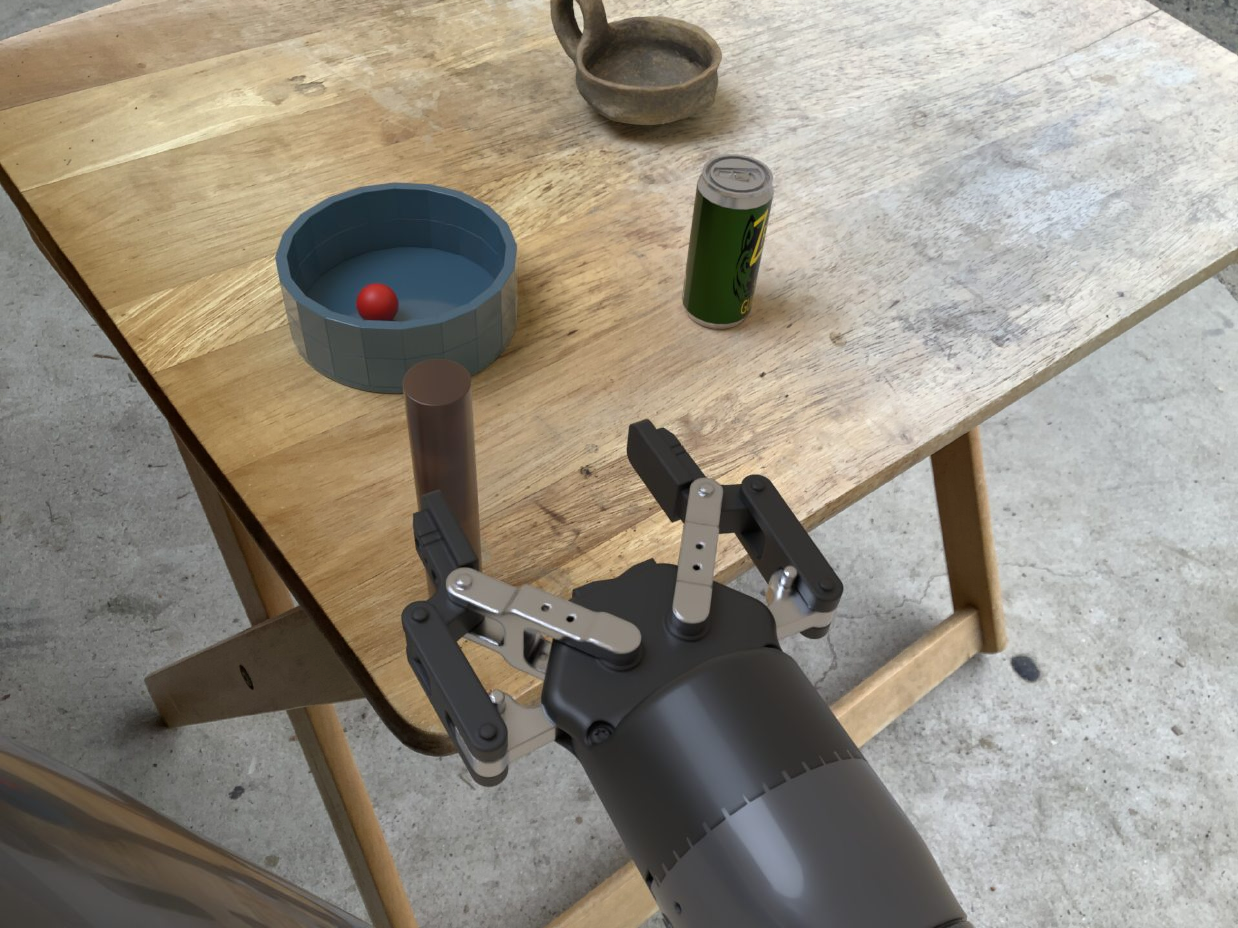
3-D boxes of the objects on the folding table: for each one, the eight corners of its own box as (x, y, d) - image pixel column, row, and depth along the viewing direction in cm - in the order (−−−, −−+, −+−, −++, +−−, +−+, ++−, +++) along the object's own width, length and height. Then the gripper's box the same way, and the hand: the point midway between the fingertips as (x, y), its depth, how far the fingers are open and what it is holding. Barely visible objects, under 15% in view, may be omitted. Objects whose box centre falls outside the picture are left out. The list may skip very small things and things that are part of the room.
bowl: (665, 168, 96) (676, 62, 89) (511, 100, 102) (509, -5, 95) (745, 106, 104) (761, 4, 97) (597, 46, 110) (602, -54, 103)
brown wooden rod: (435, 628, 63) (409, 411, 50) (424, 585, 65) (396, 364, 52) (489, 616, 64) (478, 398, 51) (477, 573, 66) (463, 353, 53)
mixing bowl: (306, 413, 74) (292, 347, 70) (278, 264, 84) (263, 199, 80) (542, 370, 78) (543, 306, 74) (488, 234, 88) (485, 170, 84)
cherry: (408, 285, 79) (402, 316, 81) (370, 269, 79) (365, 300, 81) (389, 308, 77) (384, 339, 79) (350, 291, 77) (346, 323, 79)
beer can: (678, 327, 82) (696, 192, 73) (683, 282, 86) (701, 148, 77) (749, 335, 82) (776, 201, 73) (751, 290, 86) (777, 157, 77)
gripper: (995, 686, 32) (708, 344, 41) (557, 911, 27) (340, 462, 36) (924, 797, 37) (685, 474, 47) (551, 1000, 32) (365, 593, 41)
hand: (535, 469), depth 41 cm, fingers open, 8 cm apart
